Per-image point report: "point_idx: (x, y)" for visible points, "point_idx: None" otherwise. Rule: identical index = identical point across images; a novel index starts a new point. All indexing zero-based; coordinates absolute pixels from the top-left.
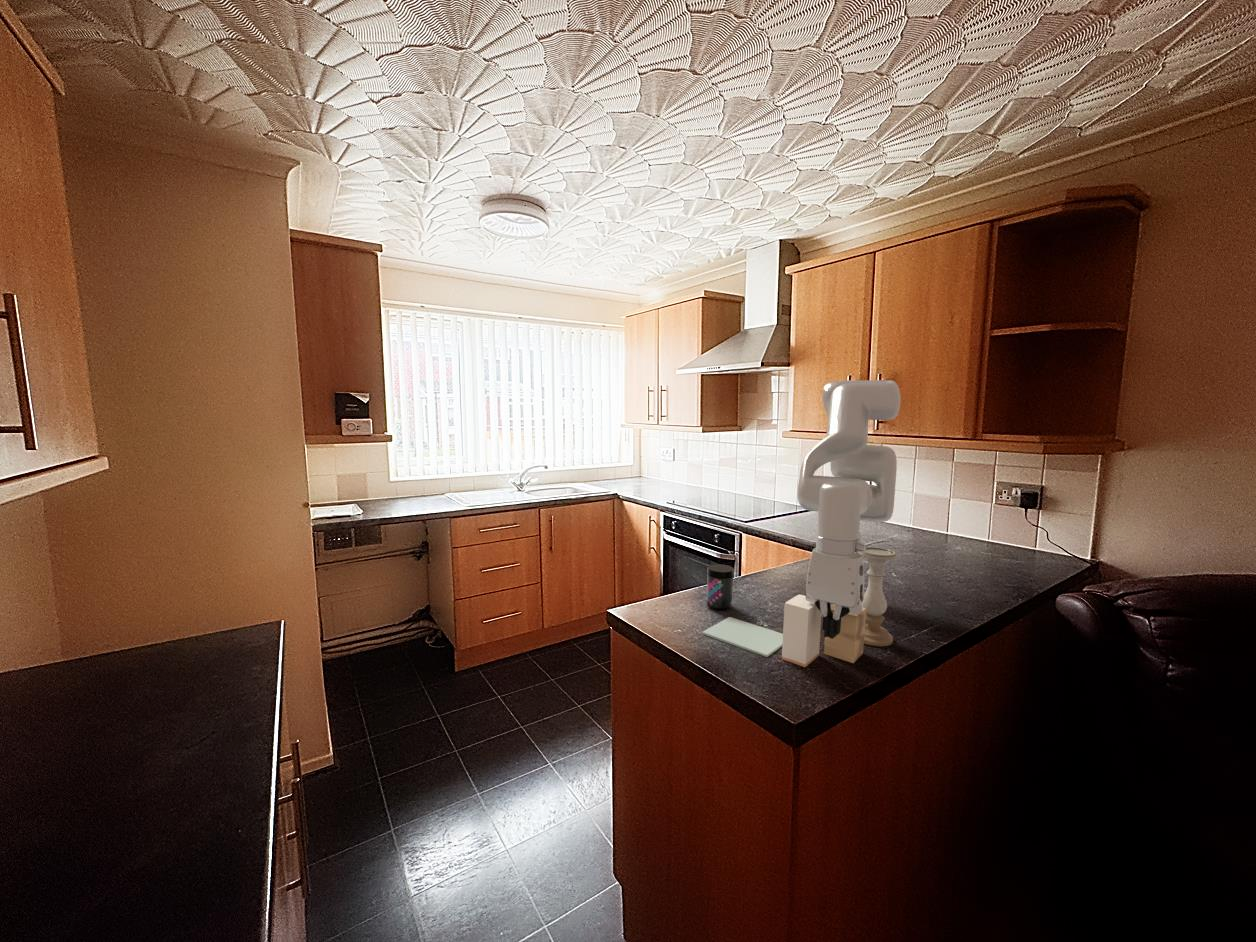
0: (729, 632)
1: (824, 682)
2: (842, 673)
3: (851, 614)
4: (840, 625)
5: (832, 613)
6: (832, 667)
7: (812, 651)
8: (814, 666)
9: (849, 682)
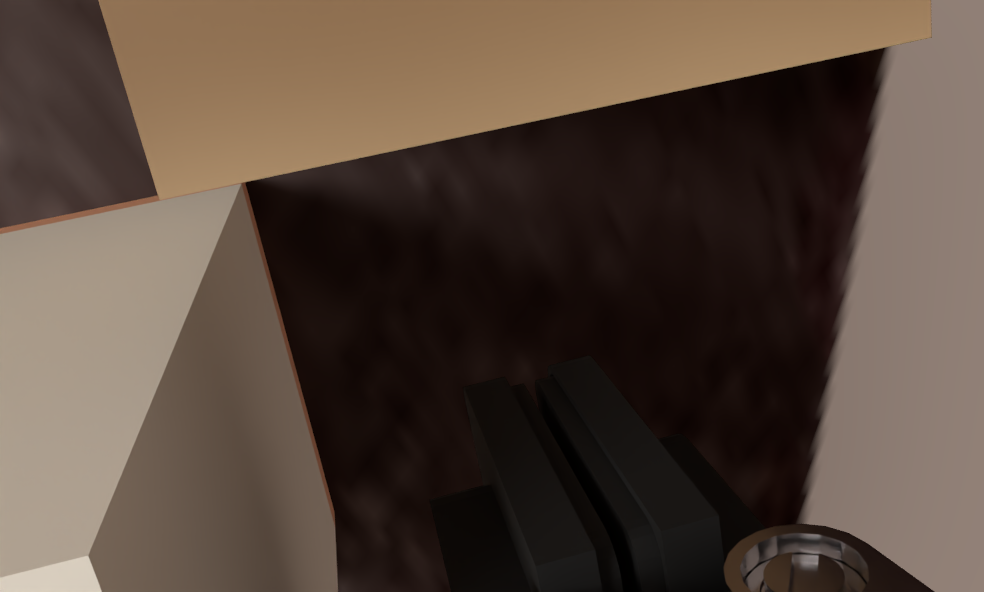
0: None
1: None
2: (611, 317)
3: (801, 44)
4: (723, 491)
5: (568, 557)
6: (492, 295)
7: (292, 411)
8: (375, 425)
9: (723, 403)
